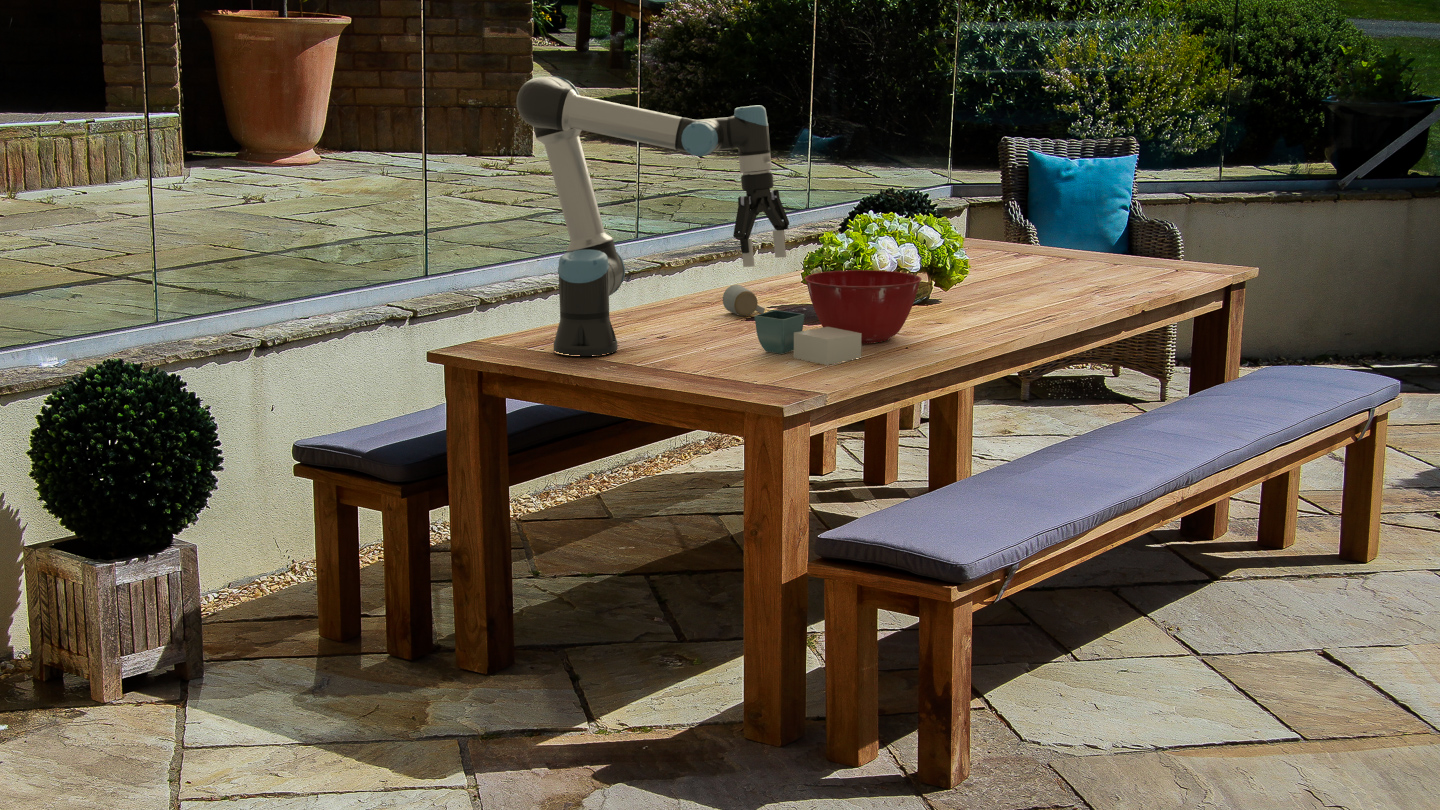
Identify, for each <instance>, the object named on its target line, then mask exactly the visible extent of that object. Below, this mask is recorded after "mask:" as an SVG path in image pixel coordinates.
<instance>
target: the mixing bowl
mask: <svg viewBox="0 0 1440 810" xmlns="http://www.w3.org/2000/svg"><path fill="white" fill-rule="evenodd" d="M804 280H805V282H806V285H807V286H806V287H807V291H808V294H809V297H810V301H811V304H812V307H813V309H814V311H815V314H816V316H817V319H818V321H819V323H820V324H821V326H822V327H821V328H823V327H832V328H837V329H842V330H848V331H853V332H858V333H862V334H861V344H875V343H874V342H879V343H882V342H881V341H884V342H887V341H889V340H890V339H892V338H893V337H894V336H896V335H897V334H898V333H899V332H900V331H901V329H902V328H903V326H904V324H905V323H906V320H907V319H908V317H909V316H910V315H909V314H910V312H911V310H912V307H913V306H914V303H915V300H916V296H917V293H918V290H919V287H920V283H921V281H922V277H921V276H918V275H917V274H912V273H907V272H899V271H891V270H873V269H872V270H871V269H849V270H848V269H847V270H846V269H845V270H832V271H831V270H830V271H821V272H816V273H815V272H814V273H812V274H808V275H806V276H805V277H804ZM888 339H889V340H888ZM886 340H887V341H886Z"/></svg>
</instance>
